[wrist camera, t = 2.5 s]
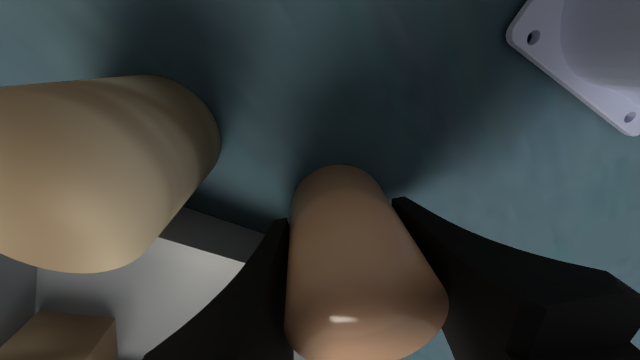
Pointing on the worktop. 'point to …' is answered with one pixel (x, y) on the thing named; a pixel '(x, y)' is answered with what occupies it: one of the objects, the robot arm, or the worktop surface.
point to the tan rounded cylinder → (356, 273)
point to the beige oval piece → (98, 168)
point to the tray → (136, 283)
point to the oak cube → (63, 338)
